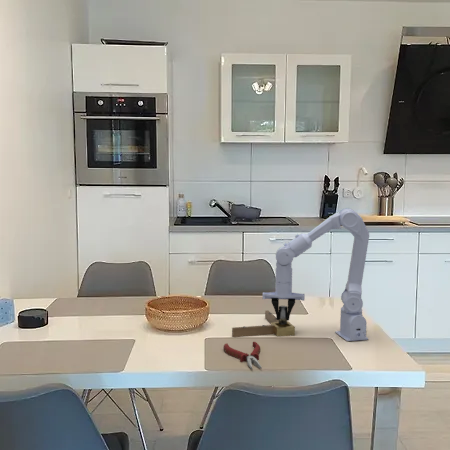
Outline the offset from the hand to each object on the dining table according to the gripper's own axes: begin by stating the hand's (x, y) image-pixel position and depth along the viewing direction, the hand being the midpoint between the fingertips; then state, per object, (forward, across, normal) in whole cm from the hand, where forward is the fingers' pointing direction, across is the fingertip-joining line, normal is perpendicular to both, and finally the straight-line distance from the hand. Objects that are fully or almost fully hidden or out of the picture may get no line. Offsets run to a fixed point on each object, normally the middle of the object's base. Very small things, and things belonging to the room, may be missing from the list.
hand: (282, 319), depth 189 cm
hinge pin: (+2, 0, 0) cm, 2 cm away
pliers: (+6, +12, +25) cm, 29 cm away
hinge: (+5, +10, -4) cm, 12 cm away
